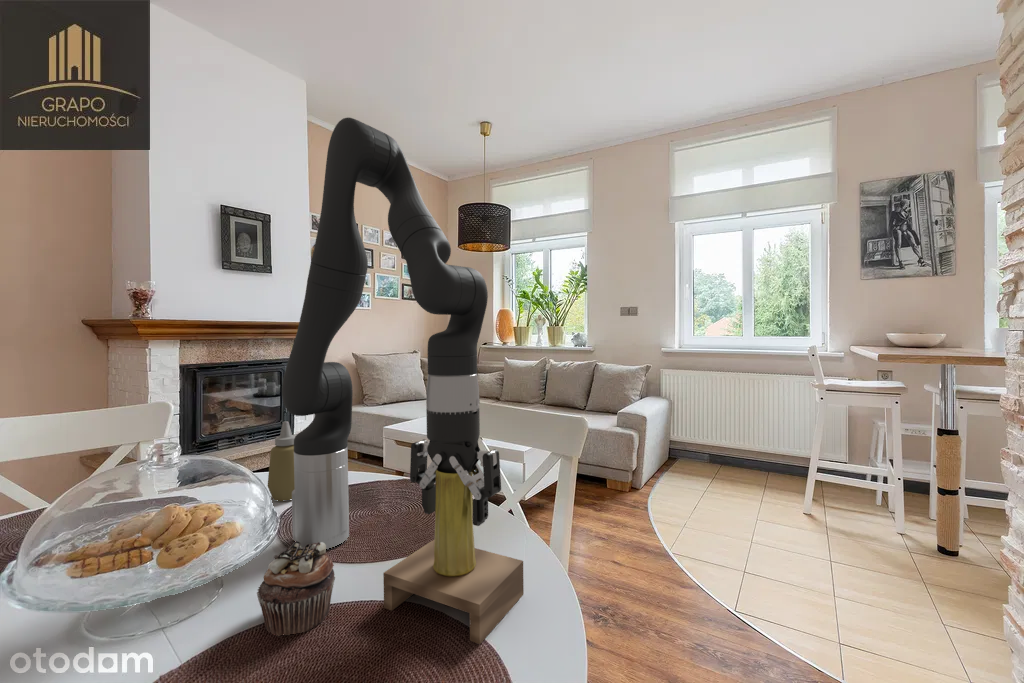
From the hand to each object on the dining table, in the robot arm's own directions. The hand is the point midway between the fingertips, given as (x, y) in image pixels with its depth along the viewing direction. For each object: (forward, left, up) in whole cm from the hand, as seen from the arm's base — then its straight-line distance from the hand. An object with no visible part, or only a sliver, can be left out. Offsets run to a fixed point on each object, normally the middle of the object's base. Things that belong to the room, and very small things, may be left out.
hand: (454, 517), depth 65 cm
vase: (0, 0, -7) cm, 7 cm away
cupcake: (-17, -13, -12) cm, 25 cm away
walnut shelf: (0, 0, -12) cm, 12 cm away
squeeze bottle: (-59, +15, -12) cm, 62 cm away
